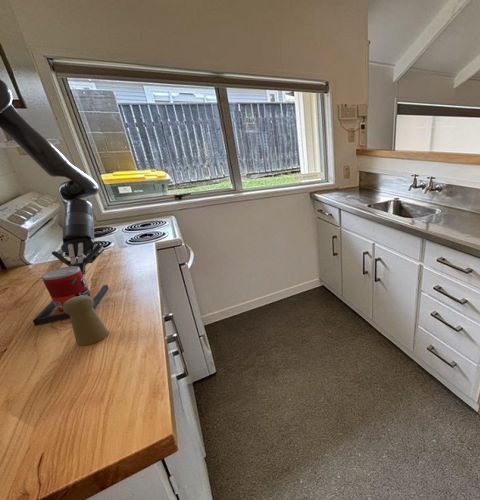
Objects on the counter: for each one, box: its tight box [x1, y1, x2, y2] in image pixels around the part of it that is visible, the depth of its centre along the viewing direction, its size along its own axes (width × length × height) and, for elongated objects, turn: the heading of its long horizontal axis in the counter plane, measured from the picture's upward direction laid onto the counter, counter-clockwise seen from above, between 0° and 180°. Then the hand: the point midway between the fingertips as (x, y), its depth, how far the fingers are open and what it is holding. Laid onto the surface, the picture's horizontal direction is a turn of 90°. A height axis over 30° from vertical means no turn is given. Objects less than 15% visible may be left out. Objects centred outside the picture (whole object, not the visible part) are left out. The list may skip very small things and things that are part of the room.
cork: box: [63, 295, 110, 347], centre depth 67 cm, size 6×6×11 cm
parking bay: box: [32, 284, 110, 326], centre depth 83 cm, size 12×16×2 cm
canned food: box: [41, 266, 93, 313], centre depth 81 cm, size 8×8×11 cm
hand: (78, 276), depth 88 cm, fingers closed
